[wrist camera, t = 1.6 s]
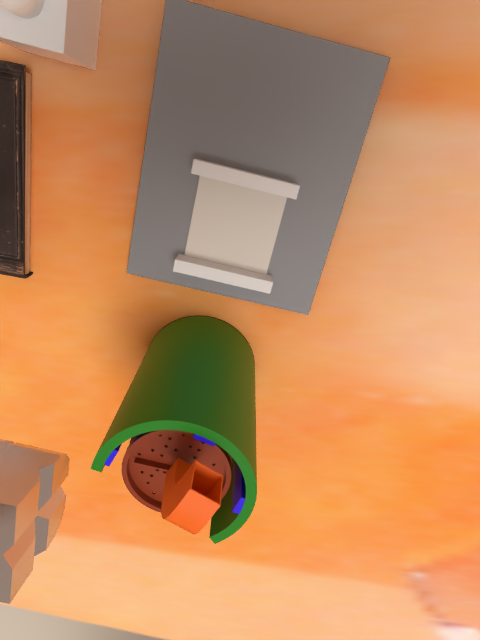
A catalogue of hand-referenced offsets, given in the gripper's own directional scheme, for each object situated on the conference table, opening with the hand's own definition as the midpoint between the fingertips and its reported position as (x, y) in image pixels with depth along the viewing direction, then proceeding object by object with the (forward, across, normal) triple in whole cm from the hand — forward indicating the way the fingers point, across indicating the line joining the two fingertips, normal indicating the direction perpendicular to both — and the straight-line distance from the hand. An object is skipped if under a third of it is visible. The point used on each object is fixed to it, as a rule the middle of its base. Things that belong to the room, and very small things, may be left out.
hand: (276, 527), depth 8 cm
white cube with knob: (+27, +18, -16) cm, 36 cm away
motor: (+31, +5, +8) cm, 33 cm away
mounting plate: (+29, +4, -8) cm, 30 cm away
